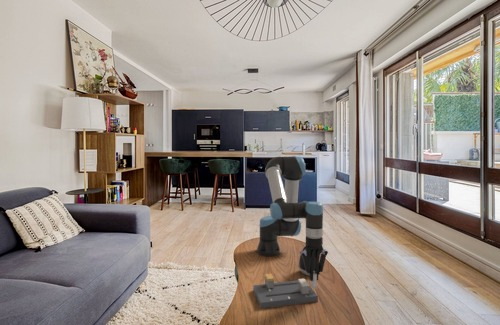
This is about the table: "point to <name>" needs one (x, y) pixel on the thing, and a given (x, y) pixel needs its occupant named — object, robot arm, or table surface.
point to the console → (282, 295)
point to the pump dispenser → (301, 263)
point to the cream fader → (303, 286)
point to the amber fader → (269, 281)
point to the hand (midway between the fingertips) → (313, 287)
